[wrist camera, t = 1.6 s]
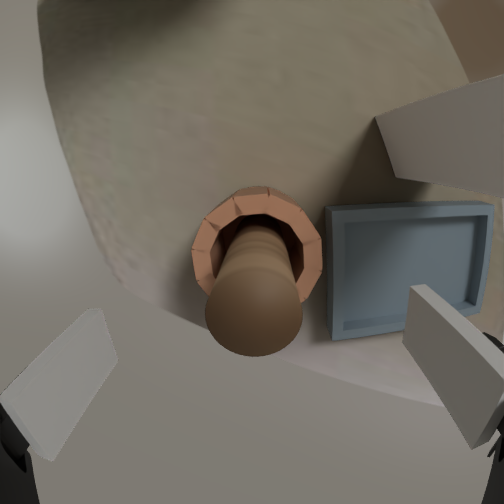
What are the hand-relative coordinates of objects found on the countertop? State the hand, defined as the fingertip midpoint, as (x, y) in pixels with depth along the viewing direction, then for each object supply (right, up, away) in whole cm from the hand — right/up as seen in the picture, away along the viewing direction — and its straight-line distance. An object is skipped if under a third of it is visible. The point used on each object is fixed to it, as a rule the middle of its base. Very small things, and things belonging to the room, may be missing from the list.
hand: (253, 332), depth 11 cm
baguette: (0, +5, +14) cm, 15 cm away
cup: (+1, +5, +15) cm, 16 cm away
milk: (+15, +14, +12) cm, 23 cm away
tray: (+16, +2, +15) cm, 22 cm away
